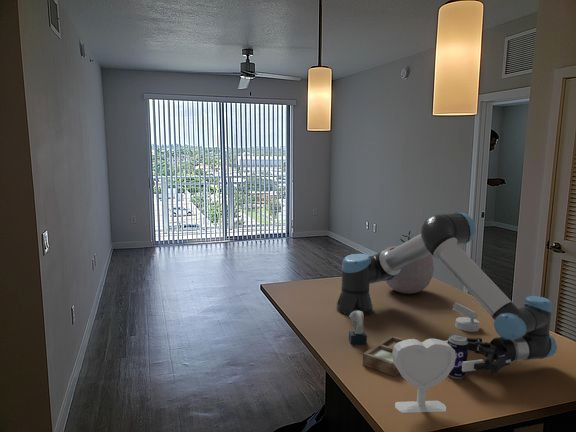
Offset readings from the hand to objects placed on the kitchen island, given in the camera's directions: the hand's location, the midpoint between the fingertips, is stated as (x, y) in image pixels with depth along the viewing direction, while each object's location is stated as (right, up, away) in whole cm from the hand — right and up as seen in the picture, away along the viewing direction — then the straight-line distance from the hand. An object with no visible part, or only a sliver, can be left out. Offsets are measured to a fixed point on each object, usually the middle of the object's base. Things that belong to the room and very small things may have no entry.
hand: (448, 356), depth 131 cm
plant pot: (+10, +5, +83) cm, 84 cm away
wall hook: (+21, -2, +40) cm, 45 cm away
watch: (-23, -3, +25) cm, 34 cm away
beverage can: (+3, -7, +2) cm, 7 cm away
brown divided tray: (-14, -5, +11) cm, 18 cm away
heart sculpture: (-13, -9, -15) cm, 22 cm away
